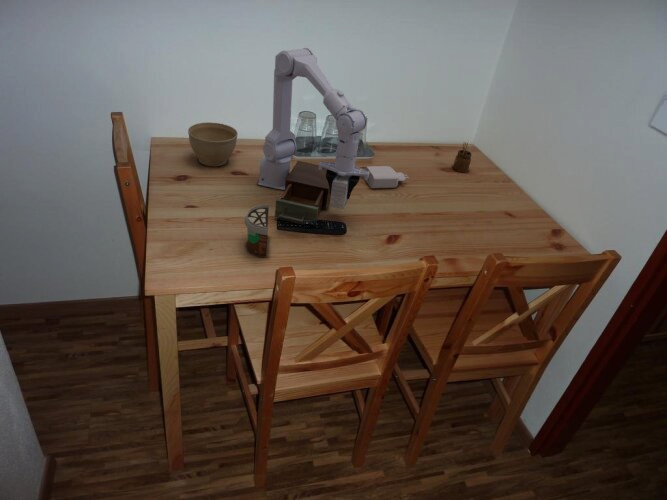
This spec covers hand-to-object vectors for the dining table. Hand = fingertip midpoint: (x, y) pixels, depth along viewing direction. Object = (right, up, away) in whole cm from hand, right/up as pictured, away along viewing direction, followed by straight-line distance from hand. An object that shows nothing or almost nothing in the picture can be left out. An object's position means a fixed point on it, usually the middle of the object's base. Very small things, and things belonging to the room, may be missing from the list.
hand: (339, 195), depth 151 cm
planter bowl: (-44, +15, +26) cm, 53 cm away
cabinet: (-9, +2, +15) cm, 18 cm away
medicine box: (0, -2, +1) cm, 2 cm away
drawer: (-12, -6, +2) cm, 14 cm away
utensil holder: (+47, +15, +47) cm, 68 cm away
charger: (+17, +7, +29) cm, 35 cm away
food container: (-23, -15, -12) cm, 30 cm away
